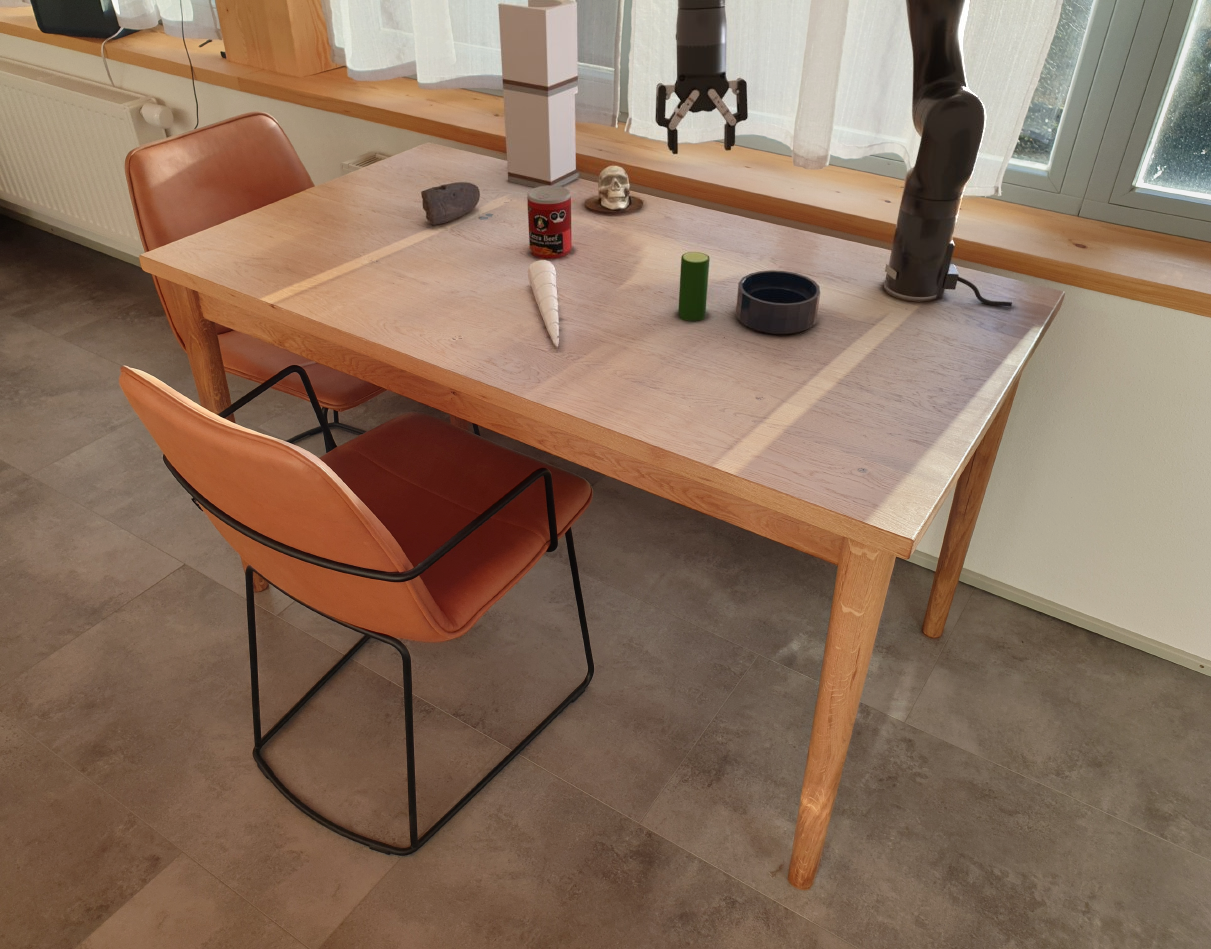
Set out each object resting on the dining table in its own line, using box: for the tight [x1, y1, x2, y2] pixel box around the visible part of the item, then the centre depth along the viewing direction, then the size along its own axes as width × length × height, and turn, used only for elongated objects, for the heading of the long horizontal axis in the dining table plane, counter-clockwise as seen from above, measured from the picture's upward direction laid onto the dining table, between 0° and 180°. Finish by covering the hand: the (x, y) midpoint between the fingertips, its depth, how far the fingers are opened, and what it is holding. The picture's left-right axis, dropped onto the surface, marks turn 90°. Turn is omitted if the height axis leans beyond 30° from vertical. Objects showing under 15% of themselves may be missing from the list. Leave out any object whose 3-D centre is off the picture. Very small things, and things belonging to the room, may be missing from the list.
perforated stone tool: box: [420, 181, 481, 226], centre depth 184 cm, size 15×5×7 cm, turn 139°
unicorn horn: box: [527, 259, 560, 348], centre depth 150 cm, size 5×24×5 cm, turn 5°
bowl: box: [735, 269, 822, 335], centre depth 150 cm, size 13×13×6 cm
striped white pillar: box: [497, 0, 580, 188], centre depth 195 cm, size 11×11×35 cm
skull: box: [584, 165, 644, 213], centre depth 191 cm, size 12×10×10 cm
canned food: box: [526, 186, 573, 260], centre depth 170 cm, size 8×8×11 cm
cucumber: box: [677, 251, 710, 322], centre depth 149 cm, size 4×4×10 cm
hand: (701, 151), depth 149 cm, fingers open, 8 cm apart
